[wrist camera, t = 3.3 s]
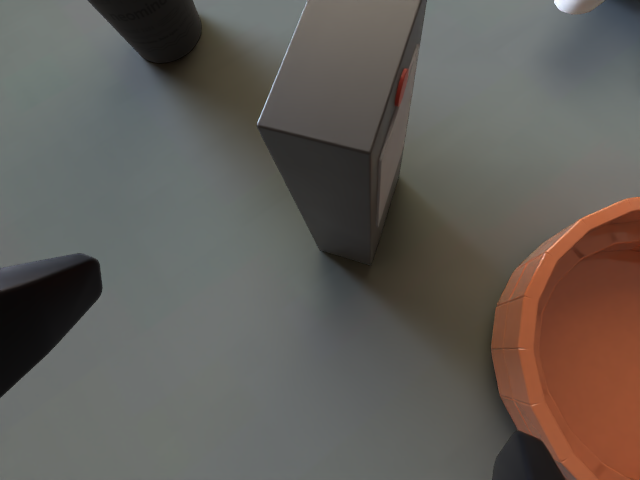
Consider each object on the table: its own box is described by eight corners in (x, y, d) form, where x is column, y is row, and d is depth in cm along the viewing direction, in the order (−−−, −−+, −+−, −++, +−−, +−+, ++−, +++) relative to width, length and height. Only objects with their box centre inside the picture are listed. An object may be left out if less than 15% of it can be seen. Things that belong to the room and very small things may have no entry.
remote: (318, 249, 23) (255, 125, 10) (349, 162, 24) (325, -46, 11) (373, 266, 22) (375, 155, 10) (401, 175, 23) (435, -29, 11)
